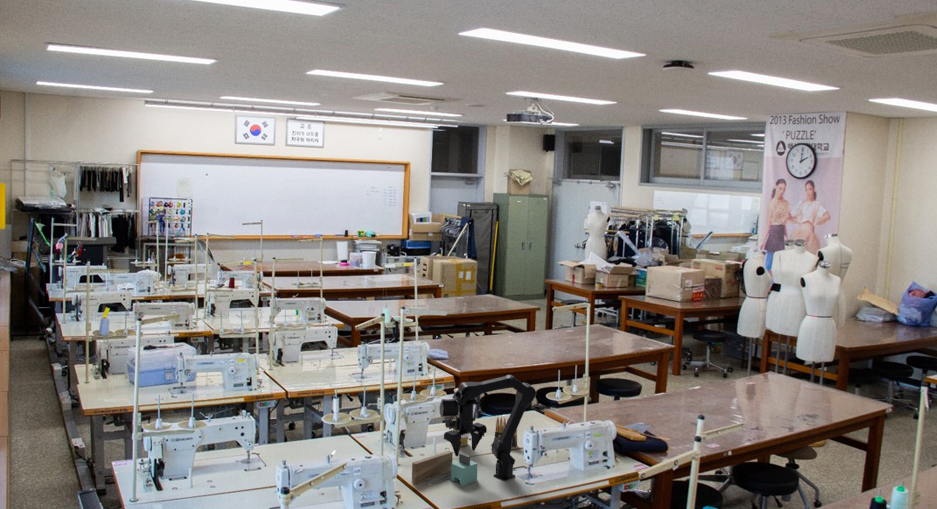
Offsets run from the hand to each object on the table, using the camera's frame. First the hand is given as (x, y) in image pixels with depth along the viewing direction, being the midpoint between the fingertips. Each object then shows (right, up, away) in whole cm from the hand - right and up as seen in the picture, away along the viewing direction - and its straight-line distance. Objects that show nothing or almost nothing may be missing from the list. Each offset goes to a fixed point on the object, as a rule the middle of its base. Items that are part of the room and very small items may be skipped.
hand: (465, 453), depth 314 cm
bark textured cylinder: (-2, -7, +41) cm, 42 cm away
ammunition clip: (+18, -7, +43) cm, 48 cm away
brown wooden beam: (-12, -11, +2) cm, 16 cm away
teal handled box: (0, -11, +1) cm, 11 cm away
